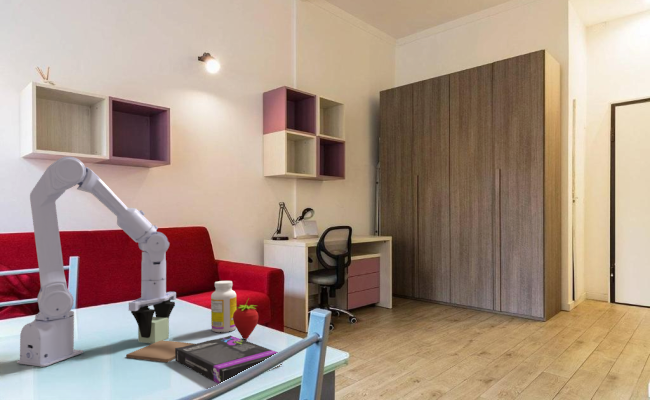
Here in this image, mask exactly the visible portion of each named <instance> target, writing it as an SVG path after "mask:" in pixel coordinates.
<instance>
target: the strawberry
mask: <svg viewBox="0 0 650 400" xmlns="http://www.w3.org/2000/svg"><path fill="white" fill-rule="evenodd" d="M249 299H250V298H249V297H248V299H247V300H246V302H248V301H249ZM256 307H258V305H254V304H250V305H248V304H239V306H236V311H235V312H234V314H233V321H234V324H235V326H236V330H237V332H238V333H239V334H240V336H241V337H242V340H247V339H249V337H250V335H251V334H252V333H253V332H254V330H255V329H256V326H257V325H258V321H259V312H257V308H256Z"/></svg>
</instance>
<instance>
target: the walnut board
mask: <svg viewBox="0 0 650 400" xmlns="http://www.w3.org/2000/svg"><path fill="white" fill-rule="evenodd" d="M193 344H195V343H192V342H183V341H175V340H174V341H173V340H172V341H171V340H160V341H158V342H156V343H150V344H148V345H146V346H144V347H142V348H141V347H140V349H139V348H138V349H136V350H134V351H132V352H129V353H126V358H127V359H128V358H129V359H138V360H144V361H145V360H146V361H153V362H162V363H169V362H172V361H174V360H175V348H179V347H185V346H188V345H193Z"/></svg>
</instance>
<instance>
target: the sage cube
mask: <svg viewBox="0 0 650 400" xmlns="http://www.w3.org/2000/svg"><path fill="white" fill-rule="evenodd" d="M169 319H170V317H169V318H163V317H156V316H153V318H152V323H151V334H150V337H149V338H144V337H141V333H140V330H139V326H138V327H137V330H138V331H137V335H138V336H137V337H138V339H137V340H138V343H144V344H145V343H146V344H153V343H156V342H158V341H160V340H164V341H166V340H167V339H169V338H170V336H169V335H170V330H169V329H170V320H169Z"/></svg>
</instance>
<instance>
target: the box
mask: <svg viewBox="0 0 650 400" xmlns="http://www.w3.org/2000/svg"><path fill="white" fill-rule="evenodd" d="M276 353H278V351H276V350H272V349H269V348H267V347H264V346H262V345H259V344H257V343H253V342H251V341H248V340H246V339H243V338H239V337H236V336H233V335H228V336H225V337H224V336H223V337H220V338H216V339H211V340H206V341H202V342H198V343H194V344H193V345H188V346H185V347H179V348H175V359H174V360H175V362H177V363H178V364H180V365H182V366H184V367H186V368H187V369H189V370H192V371H194V372H196V373H197V374H198V375H200V376H203V377H205V378H206V379H209V380H211V381H213V382H215V383H217V384H219V383H221V382H223V381H225V380H227V379H229V378H231V377H233V376H235V375H237V374H238V373H240V372H242V371H244V370H246V369H248V368H250V367H252V366H254V365H256V364H258V363H260V362H262V361H264V360H265V359H267V358H269V357H271V356H272V355H274V354H276ZM280 365H282V366H283V363H282V364H280ZM280 365H279V366H280ZM277 367H278V366H277ZM277 367H276V368H274V369H273V370H275V369H277ZM278 368H279V367H278ZM219 385H220V384H219Z"/></svg>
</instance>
